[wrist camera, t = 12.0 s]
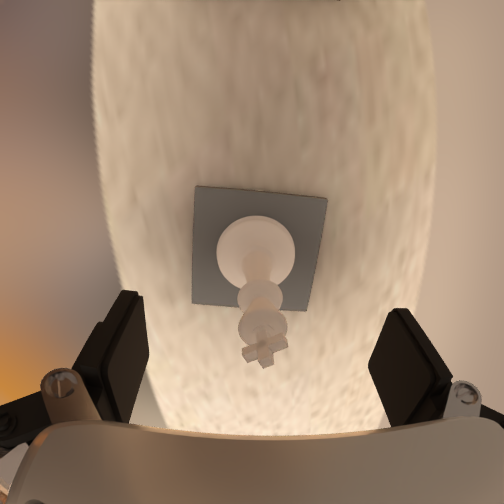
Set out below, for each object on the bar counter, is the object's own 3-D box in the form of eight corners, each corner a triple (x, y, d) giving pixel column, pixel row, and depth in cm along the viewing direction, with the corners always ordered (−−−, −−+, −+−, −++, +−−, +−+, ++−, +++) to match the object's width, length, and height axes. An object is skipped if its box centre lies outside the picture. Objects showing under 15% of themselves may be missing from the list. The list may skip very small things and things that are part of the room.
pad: (196, 185, 19) (195, 187, 18) (326, 198, 19) (327, 199, 19) (192, 300, 22) (191, 303, 21) (305, 308, 22) (306, 311, 22)
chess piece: (306, 267, 20) (349, 377, 11) (239, 298, 21) (237, 417, 12) (274, 201, 19) (304, 280, 10) (202, 237, 19) (169, 338, 10)
